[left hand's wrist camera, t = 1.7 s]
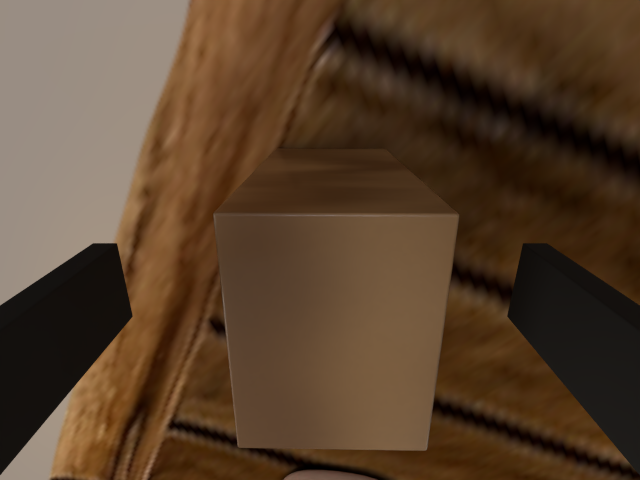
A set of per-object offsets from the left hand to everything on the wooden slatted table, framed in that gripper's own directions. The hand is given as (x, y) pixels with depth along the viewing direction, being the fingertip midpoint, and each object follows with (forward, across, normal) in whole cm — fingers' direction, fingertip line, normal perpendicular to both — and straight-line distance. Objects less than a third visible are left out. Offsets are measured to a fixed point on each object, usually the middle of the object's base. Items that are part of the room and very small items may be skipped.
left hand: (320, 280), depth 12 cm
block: (+8, 0, 0) cm, 8 cm away
